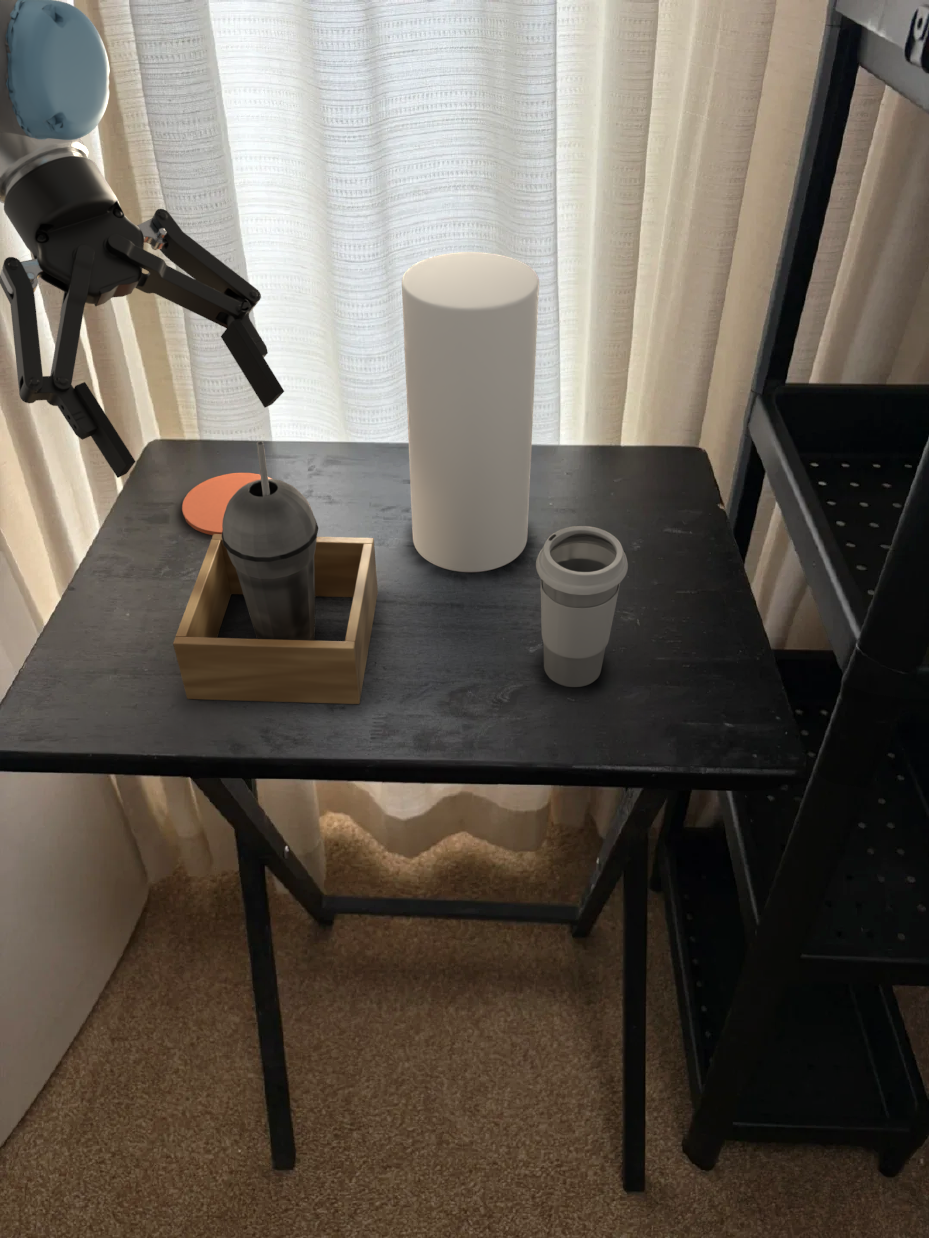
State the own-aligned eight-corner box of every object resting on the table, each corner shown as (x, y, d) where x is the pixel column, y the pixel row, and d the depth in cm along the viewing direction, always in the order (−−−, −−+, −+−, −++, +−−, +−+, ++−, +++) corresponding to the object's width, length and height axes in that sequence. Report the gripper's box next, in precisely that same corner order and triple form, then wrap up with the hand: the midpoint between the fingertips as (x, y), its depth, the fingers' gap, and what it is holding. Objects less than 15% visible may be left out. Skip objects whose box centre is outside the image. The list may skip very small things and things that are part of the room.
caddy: (359, 704, 82) (353, 648, 78) (186, 699, 82) (172, 643, 78) (377, 592, 92) (373, 537, 88) (224, 588, 92) (213, 533, 88)
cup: (560, 627, 88) (569, 511, 80) (629, 658, 85) (646, 541, 77) (513, 675, 84) (518, 558, 76) (585, 710, 81) (598, 592, 73)
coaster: (224, 550, 96) (223, 546, 96) (162, 506, 101) (161, 502, 101) (308, 504, 102) (307, 500, 101) (245, 465, 107) (244, 461, 106)
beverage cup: (314, 604, 90) (287, 399, 77) (344, 656, 86) (321, 447, 72) (232, 629, 88) (190, 422, 75) (259, 684, 83) (219, 473, 70)
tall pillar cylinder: (402, 566, 94) (388, 303, 78) (424, 498, 102) (415, 247, 86) (519, 578, 93) (531, 313, 77) (533, 508, 101) (545, 255, 84)
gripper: (174, 168, 87) (310, 391, 89) (-124, 258, 73) (46, 518, 75) (202, 113, 80) (347, 355, 83) (-119, 200, 67) (66, 486, 69)
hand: (204, 433), depth 79 cm, fingers open, 13 cm apart
